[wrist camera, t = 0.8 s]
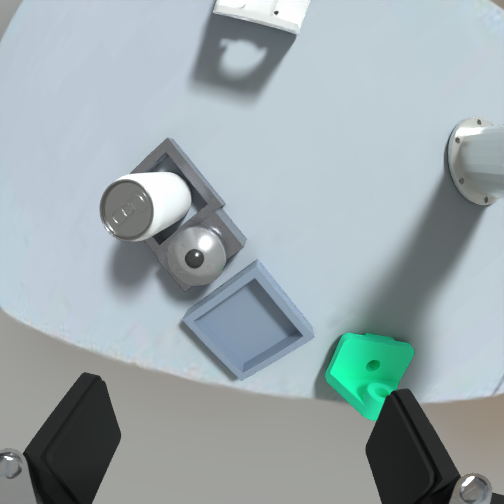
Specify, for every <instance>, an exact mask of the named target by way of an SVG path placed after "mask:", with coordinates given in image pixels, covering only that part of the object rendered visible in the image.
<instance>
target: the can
mask: <svg viewBox="0 0 504 504" xmlns="http://www.w3.org/2000/svg"><path fill="white" fill-rule="evenodd" d="M190 205H191V190H190V188H189V186H188V184H187V183H186V181H185V180H184V179H183V178H182V177H181V176H179V175H177V174H175V173H171V172H153V173H137V174H129V175H125V176H123V177H121V178H119V179H117V180H116V181H115V182H114V183H112V184H111V185H110V186H108V188H107V189H106V190H105V192H104V193H103V195H102V198H101V201H100V217H101V220H102V223H103V225H104V227H105V228H106V230H107V231H108V232H109V233H110V234H111V235H112V236H113V237H115V238H117V239H119V240H122V241H142V240H145V239H147V238H149V237H151V236H153V235H155V234H157V233H158V232H160V231H162V230H164V229H165V228H167V227H169V226H170V225H172V224H174V223H176V222H177V221H179V220H180V219H182V218H183V217H184V216H185V215H186V213H187V212H188V210H189V208H190Z"/></svg>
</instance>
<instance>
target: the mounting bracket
mask: <svg viewBox="0 0 504 504" xmlns="http://www.w3.org/2000/svg"><path fill="white" fill-rule="evenodd" d="M310 1H311V0H216V3H215V7H214V10H213V13H215V14H219V15H225V16H229V17H233V18H237V19H241V20H245V21H250V22H254V23H258V24H262V25H266V26H269V27H273V28H277V29H280V30H283V31H287V32H290V33H293V34H297V35H299V32H300V28H301V25H302V22H303V20H304V17H305V14H306V12H307V9H308V6H309V4H310ZM277 13H279V14H277ZM276 14H277V15H276Z"/></svg>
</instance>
